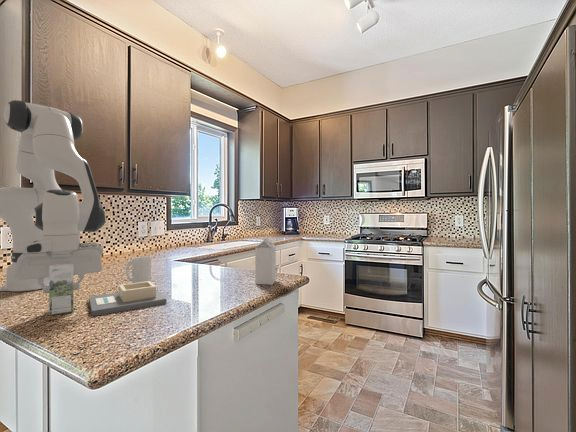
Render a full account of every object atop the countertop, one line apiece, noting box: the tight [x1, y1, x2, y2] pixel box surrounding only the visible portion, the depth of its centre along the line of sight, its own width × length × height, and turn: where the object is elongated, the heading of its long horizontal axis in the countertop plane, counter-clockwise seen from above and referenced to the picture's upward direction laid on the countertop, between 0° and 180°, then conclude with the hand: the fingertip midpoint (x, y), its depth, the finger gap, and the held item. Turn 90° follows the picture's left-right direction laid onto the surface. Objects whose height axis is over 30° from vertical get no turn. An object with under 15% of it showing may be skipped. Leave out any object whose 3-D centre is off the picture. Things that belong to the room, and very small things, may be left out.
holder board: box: [88, 281, 167, 317], centre depth 96 cm, size 18×20×5 cm
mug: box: [125, 256, 152, 283], centre depth 113 cm, size 10×7×12 cm, turn 79°
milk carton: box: [254, 236, 277, 286], centre depth 123 cm, size 7×7×19 cm
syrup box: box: [48, 263, 75, 316], centre depth 87 cm, size 6×6×14 cm
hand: (61, 291), depth 87 cm, fingers closed on syrup box, 6 cm apart
